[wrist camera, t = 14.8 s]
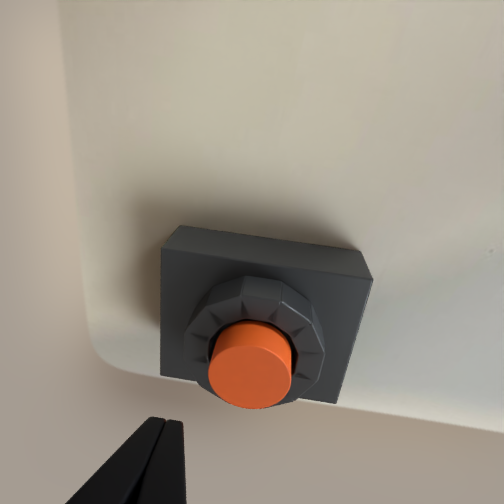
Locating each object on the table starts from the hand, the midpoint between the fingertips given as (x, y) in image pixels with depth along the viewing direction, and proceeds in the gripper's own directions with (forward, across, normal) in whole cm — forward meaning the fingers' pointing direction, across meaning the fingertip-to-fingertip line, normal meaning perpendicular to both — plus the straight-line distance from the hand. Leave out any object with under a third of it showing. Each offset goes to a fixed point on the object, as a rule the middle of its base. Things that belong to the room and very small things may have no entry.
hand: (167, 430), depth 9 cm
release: (+12, -2, +4) cm, 13 cm away
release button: (+7, -2, +4) cm, 8 cm away
